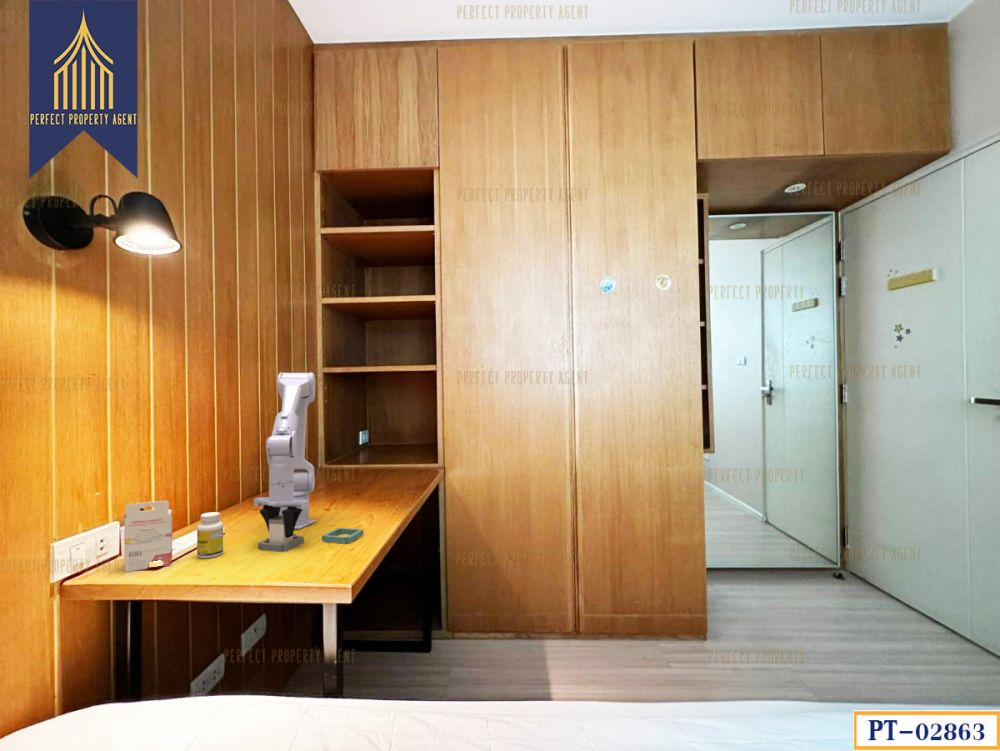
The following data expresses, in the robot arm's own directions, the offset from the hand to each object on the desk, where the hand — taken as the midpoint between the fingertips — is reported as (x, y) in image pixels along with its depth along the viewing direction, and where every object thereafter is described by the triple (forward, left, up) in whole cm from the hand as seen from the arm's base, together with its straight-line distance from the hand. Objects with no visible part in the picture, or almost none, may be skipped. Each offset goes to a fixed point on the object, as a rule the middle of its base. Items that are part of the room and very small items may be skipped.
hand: (281, 536), depth 128 cm
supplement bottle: (-12, -10, -3) cm, 16 cm away
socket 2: (+12, +9, -2) cm, 15 cm away
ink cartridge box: (-20, -19, -3) cm, 28 cm away
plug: (0, 0, -2) cm, 2 cm away
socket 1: (0, 0, -2) cm, 2 cm away
